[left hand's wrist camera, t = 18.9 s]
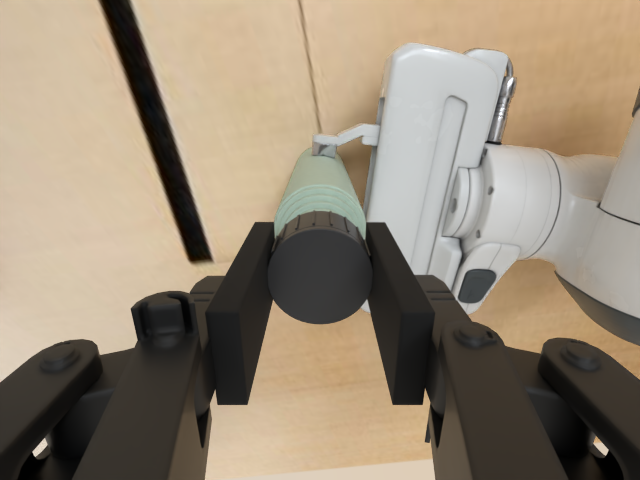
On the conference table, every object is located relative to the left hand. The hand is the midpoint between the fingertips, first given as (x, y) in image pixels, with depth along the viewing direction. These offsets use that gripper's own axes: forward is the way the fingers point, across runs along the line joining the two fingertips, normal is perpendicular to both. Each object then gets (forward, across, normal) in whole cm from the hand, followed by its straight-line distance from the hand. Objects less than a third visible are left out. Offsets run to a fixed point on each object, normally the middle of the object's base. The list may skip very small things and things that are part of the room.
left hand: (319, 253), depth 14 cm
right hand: (+14, -1, 0) cm, 14 cm away
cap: (-2, 0, 0) cm, 2 cm away
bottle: (+20, 0, 0) cm, 20 cm away
